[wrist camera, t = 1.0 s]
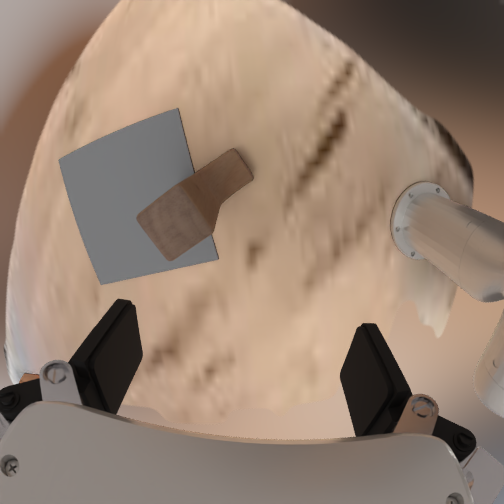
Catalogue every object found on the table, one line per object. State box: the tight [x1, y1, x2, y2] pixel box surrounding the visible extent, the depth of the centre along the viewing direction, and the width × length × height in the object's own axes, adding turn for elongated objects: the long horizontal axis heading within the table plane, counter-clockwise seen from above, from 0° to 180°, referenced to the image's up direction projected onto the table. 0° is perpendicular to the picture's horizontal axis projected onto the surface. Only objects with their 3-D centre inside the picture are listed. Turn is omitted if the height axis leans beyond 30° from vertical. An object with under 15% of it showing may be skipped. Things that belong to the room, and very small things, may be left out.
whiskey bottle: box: [19, 373, 39, 383], centre depth 40 cm, size 10×10×32 cm
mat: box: [59, 108, 219, 285], centre depth 37 cm, size 21×22×1 cm
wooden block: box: [136, 149, 254, 261], centre depth 28 cm, size 9×4×18 cm, turn 123°
